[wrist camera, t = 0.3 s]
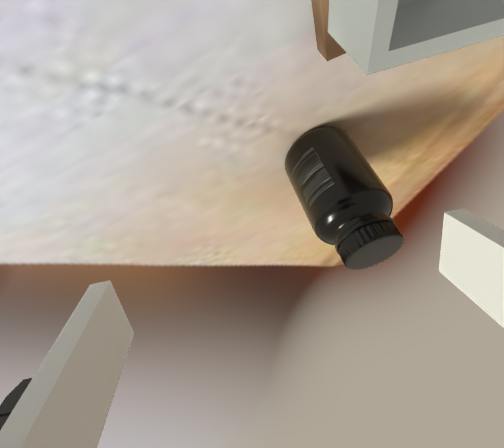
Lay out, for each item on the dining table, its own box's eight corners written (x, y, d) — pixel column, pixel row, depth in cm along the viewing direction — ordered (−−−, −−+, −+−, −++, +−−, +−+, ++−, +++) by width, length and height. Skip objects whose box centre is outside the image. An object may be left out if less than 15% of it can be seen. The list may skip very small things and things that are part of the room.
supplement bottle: (294, 187, 35) (338, 286, 28) (273, 145, 29) (322, 254, 22) (353, 159, 33) (416, 254, 26) (344, 110, 28) (419, 213, 21)
